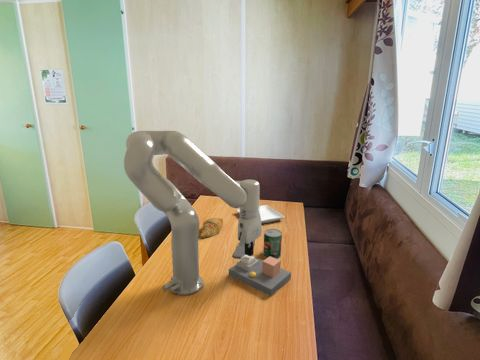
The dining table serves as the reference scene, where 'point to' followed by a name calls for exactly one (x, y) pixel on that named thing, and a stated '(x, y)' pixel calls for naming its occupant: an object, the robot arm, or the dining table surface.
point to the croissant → (211, 227)
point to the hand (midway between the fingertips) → (249, 254)
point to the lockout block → (271, 266)
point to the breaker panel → (259, 277)
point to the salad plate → (267, 214)
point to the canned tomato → (272, 243)
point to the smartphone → (239, 251)
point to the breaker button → (247, 259)
